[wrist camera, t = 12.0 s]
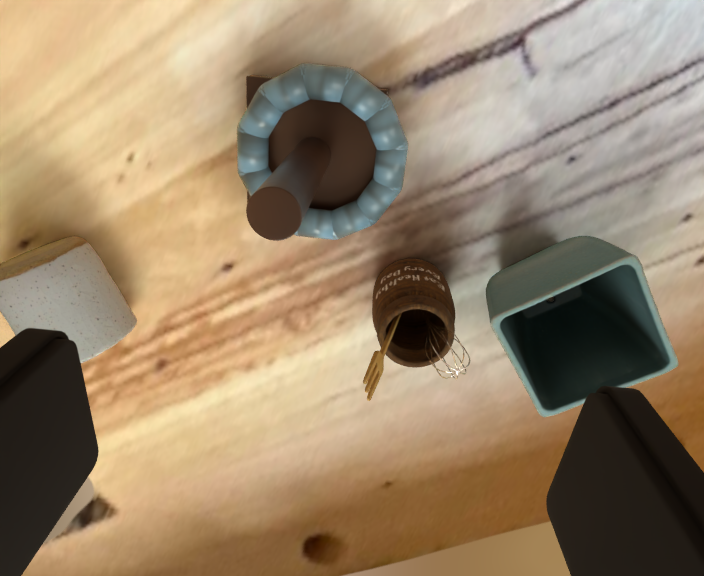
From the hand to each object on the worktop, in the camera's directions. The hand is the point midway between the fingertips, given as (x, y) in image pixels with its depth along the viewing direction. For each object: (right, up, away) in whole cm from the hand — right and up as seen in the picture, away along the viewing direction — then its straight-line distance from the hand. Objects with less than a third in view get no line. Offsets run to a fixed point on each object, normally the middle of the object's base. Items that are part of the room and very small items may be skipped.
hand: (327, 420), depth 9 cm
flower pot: (+15, +3, +28) cm, 32 cm away
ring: (-2, +11, +22) cm, 25 cm away
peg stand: (-2, +12, +24) cm, 27 cm away
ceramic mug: (-22, +3, +30) cm, 38 cm away
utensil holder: (+5, +2, +29) cm, 29 cm away
